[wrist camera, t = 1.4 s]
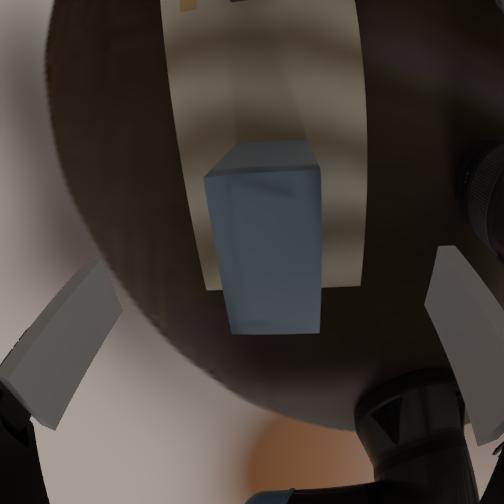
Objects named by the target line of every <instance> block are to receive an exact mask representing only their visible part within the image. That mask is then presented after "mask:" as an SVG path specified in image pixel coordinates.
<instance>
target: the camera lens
mask: <svg viewBox="0 0 504 504" xmlns="http://www.w3.org/2000/svg"><path fill="white" fill-rule="evenodd" d="M454 193H455V198H456V201H457V204H458V206H459V208H460V210H461V211H462V213H463V216H464V218H465V220H466V222H467V224H468V225H469V226H470V227H471V228H472V229H473V230H474V232H475V233H476V235H477V236H478V238H479V239H480V240H481V241H482V242H483V243H484V244H485V245H486V246H487V247H488V248H489V249H490V250H491V251H492V252H493V253H494V254H495V255H496V256H497V259H498V262H499V263H500V265H501V266H502V267H503V268H504V142H503V141H493V142H481V143H478V144H475V145H474V146H472V147H471V148H469V149H468V150H467V151H466V152H465V154H464V155H463V157H462V158H461V160H460V162H459V164H458V167H457V169H456V173H455V178H454Z"/></svg>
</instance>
